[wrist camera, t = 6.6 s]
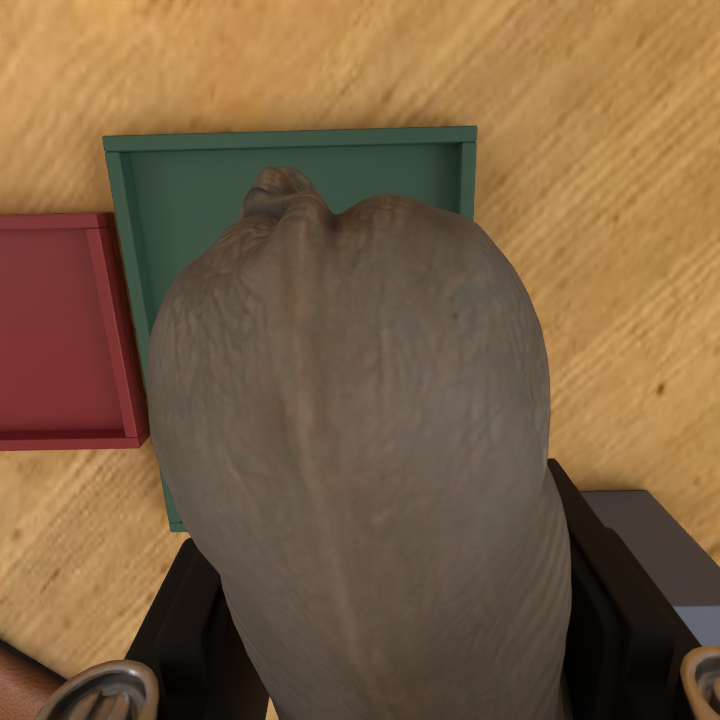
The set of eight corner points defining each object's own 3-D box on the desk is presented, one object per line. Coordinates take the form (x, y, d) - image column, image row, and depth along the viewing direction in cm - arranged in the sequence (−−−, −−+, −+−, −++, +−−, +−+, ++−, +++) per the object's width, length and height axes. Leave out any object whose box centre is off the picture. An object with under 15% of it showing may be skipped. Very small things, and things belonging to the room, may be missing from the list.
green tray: (118, 139, 22) (101, 135, 20) (470, 129, 22) (477, 125, 20) (180, 515, 28) (170, 532, 27) (454, 510, 28) (459, 527, 26)
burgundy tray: (-132, 218, 23) (-165, 220, 21) (112, 212, 23) (95, 213, 21) (-61, 438, 26) (-84, 453, 25) (151, 434, 26) (139, 448, 25)
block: (554, 491, 27) (628, 607, 20) (647, 489, 27) (757, 605, 20) (546, 566, 29) (611, 700, 21) (633, 565, 29) (730, 698, 21)
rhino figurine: (372, 761, 12) (379, 1244, 7) (198, 187, 8) (-176, 177, 3) (539, 737, 12) (694, 1221, 6) (448, 128, 8) (668, -36, 2)
